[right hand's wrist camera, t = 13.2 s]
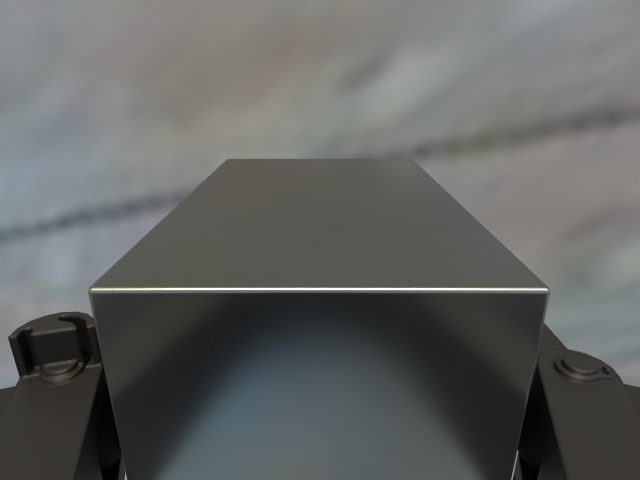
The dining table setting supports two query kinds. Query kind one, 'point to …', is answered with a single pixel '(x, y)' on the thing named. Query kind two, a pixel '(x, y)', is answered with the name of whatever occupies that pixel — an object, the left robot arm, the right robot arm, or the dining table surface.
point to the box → (319, 330)
